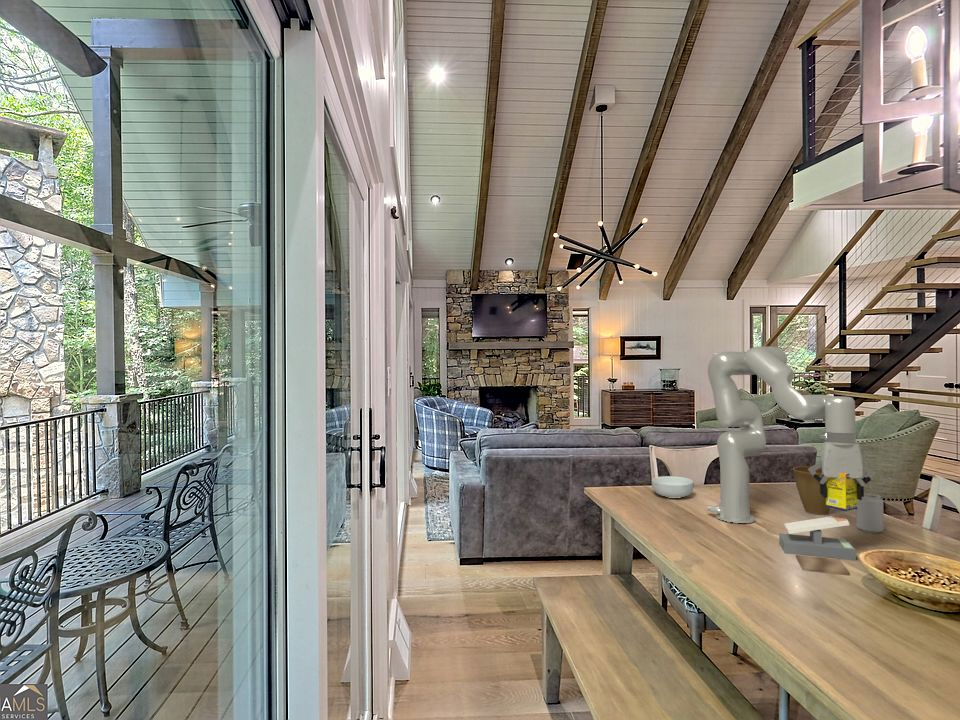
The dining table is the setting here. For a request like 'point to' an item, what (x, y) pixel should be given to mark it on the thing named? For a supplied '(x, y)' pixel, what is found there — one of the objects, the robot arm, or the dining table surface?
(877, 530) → the can
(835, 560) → the pad
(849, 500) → the supplement box
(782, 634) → the dining table surface
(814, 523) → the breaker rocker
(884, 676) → the dining table surface
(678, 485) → the cereal bowl
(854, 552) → the grey pedestal base
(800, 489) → the plant pot
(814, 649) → the dining table surface
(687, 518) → the dining table surface
